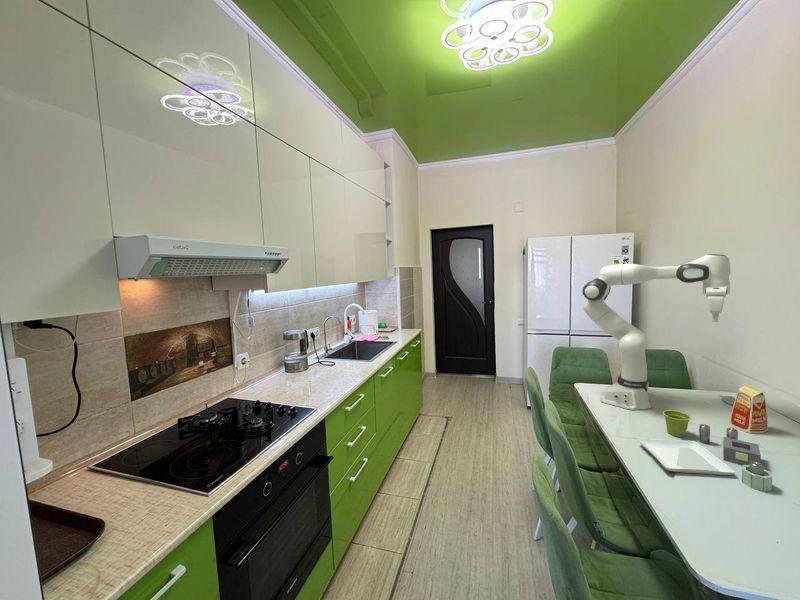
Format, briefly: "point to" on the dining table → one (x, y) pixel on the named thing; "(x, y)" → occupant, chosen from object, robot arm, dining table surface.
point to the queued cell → (732, 433)
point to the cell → (704, 434)
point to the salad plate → (669, 455)
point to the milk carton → (749, 410)
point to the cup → (757, 479)
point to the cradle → (740, 451)
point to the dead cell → (757, 468)
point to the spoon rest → (728, 397)
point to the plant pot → (676, 422)
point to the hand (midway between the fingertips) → (715, 319)
